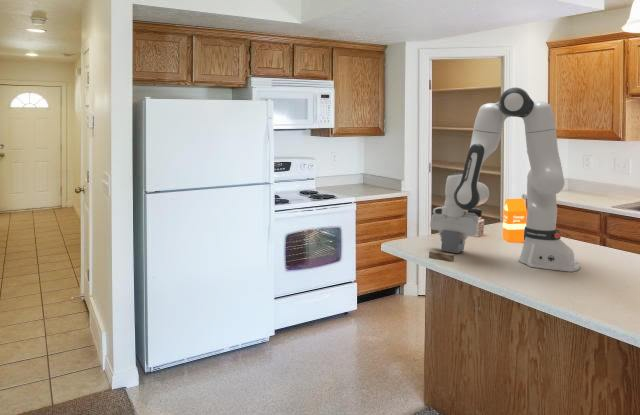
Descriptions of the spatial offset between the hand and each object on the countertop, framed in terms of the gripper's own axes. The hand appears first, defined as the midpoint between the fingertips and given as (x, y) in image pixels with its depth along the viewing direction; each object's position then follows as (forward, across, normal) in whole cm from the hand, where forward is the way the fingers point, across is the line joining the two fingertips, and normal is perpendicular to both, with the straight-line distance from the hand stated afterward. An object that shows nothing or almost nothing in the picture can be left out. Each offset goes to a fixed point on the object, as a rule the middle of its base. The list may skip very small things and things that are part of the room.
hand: (452, 242), depth 227 cm
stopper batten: (+4, -1, +14) cm, 15 cm away
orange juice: (+4, -16, -39) cm, 42 cm away
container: (+4, +4, -39) cm, 39 cm away
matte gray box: (+4, 0, 0) cm, 4 cm away
